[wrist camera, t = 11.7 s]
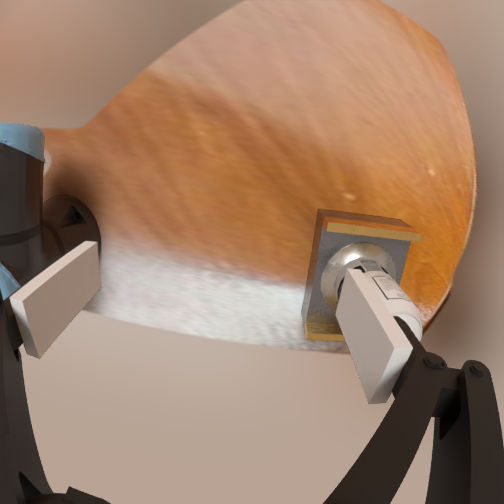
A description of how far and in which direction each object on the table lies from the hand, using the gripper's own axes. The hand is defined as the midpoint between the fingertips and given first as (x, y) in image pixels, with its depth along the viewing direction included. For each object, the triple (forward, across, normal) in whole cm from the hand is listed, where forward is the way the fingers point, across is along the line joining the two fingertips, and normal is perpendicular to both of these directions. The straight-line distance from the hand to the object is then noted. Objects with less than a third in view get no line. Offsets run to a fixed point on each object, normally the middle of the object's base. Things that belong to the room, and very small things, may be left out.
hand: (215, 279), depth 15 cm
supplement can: (+26, +18, -11) cm, 34 cm away
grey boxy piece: (+31, +18, -11) cm, 38 cm away
